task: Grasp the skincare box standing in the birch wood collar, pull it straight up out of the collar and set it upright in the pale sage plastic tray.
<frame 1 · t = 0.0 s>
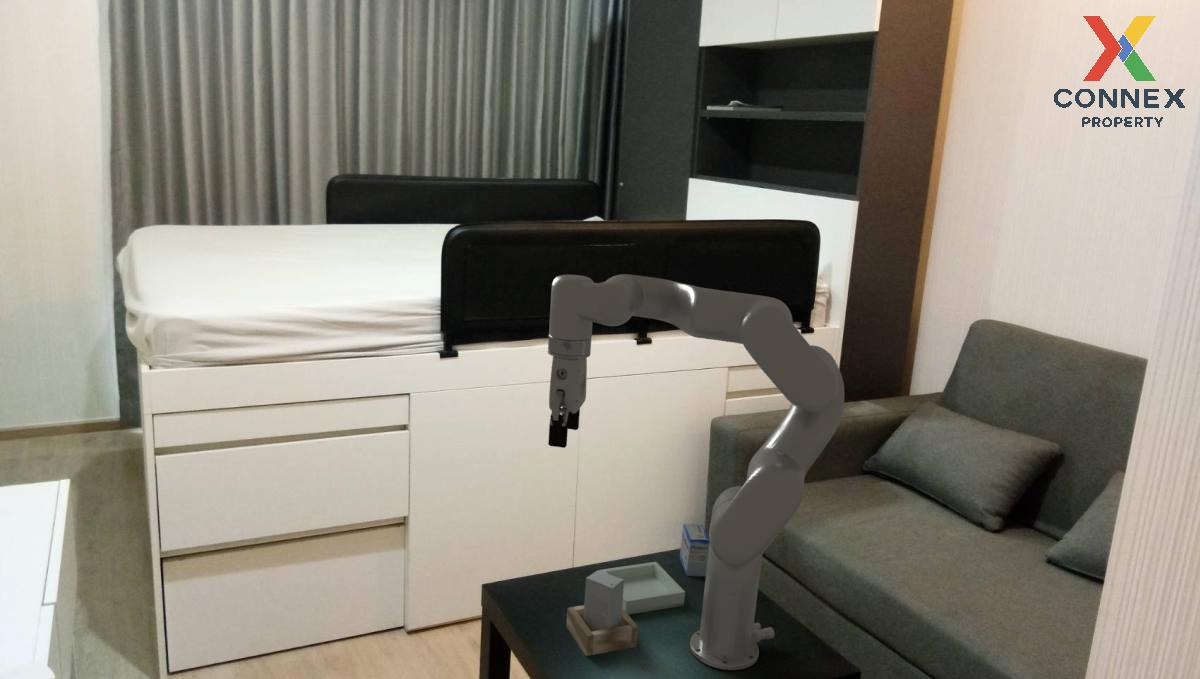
hand: (563, 437, 165), 37 cm above the table, tool pointing down, fingers open, 9 cm apart
skincare box: (600, 637, 170), resting in collar
tray: (640, 594, 186), on the table
collar: (600, 636, 170), on the table
medicine box: (692, 568, 199), on the table
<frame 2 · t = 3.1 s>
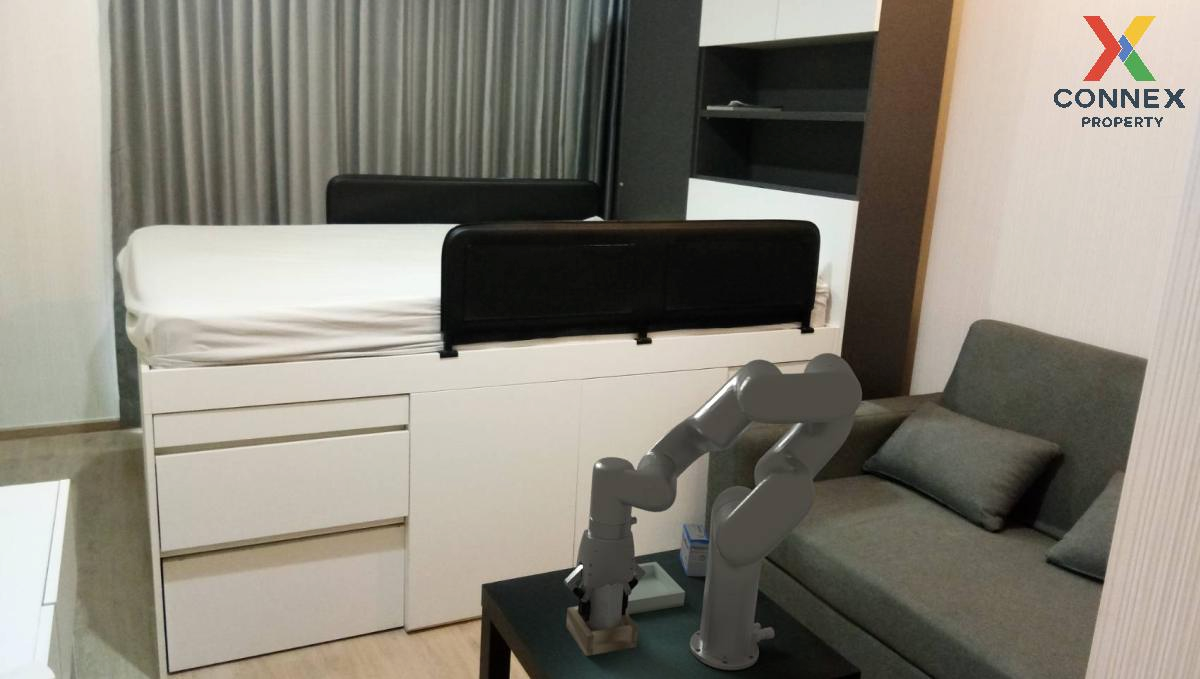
hand: (602, 613, 169), 5 cm above the table, tool pointing down, fingers closed on skincare box, 6 cm apart
skincare box: (600, 637, 170), resting in collar, touching gripper
everything else where it was.
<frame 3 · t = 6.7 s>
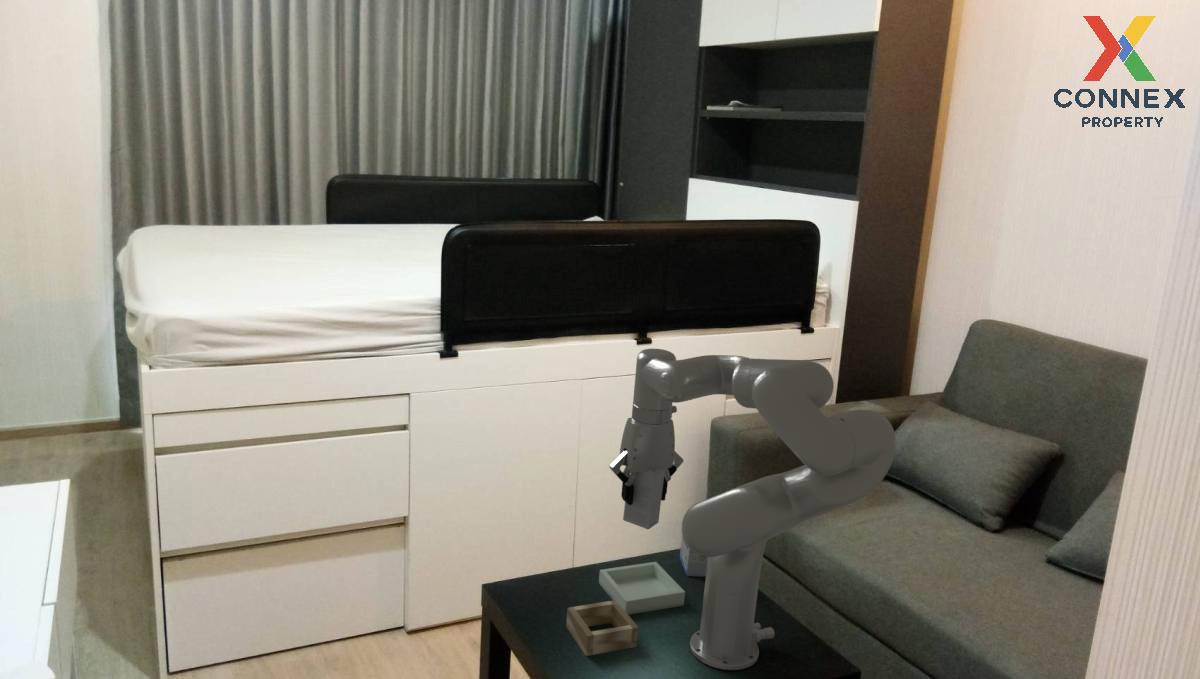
hand: (643, 499, 179), 22 cm above the table, tool pointing down, fingers closed on skincare box, 6 cm apart
skincare box: (640, 522, 180), point 17 cm above the table, touching gripper
everything else where it was.
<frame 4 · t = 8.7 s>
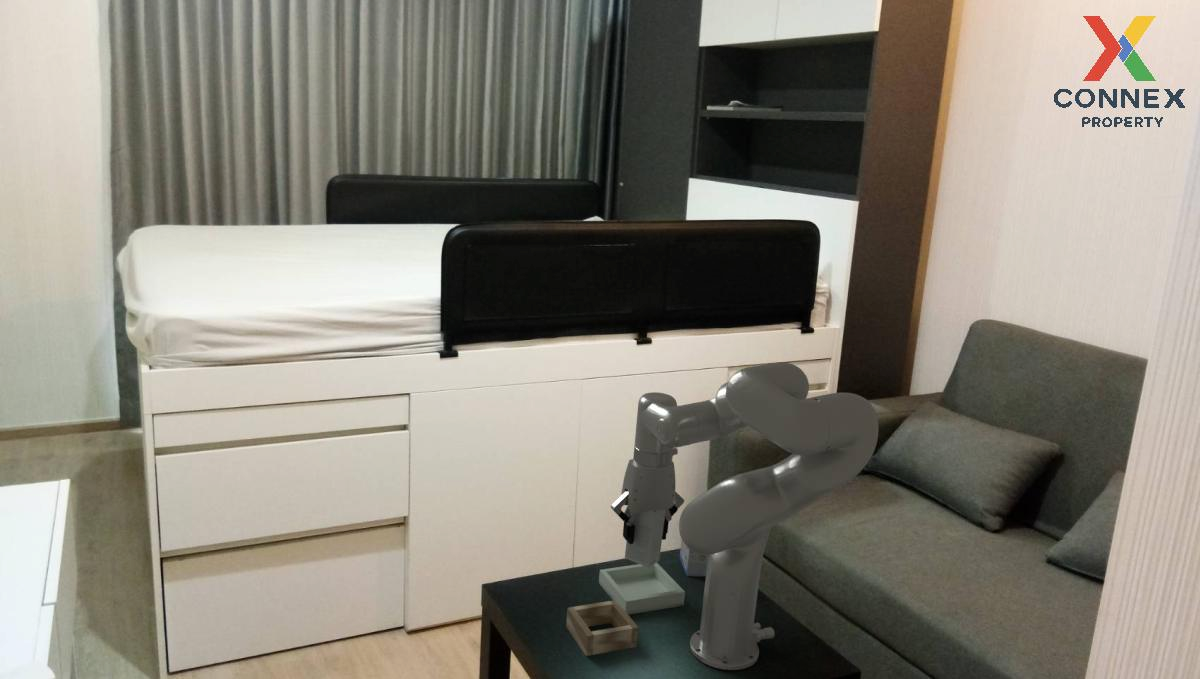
hand: (644, 538, 183), 12 cm above the table, tool pointing down, fingers closed on skincare box, 6 cm apart
skincare box: (641, 560, 185), point 7 cm above the table, touching gripper
everything else where it was.
when the fingers open (7 cm above the table, at t = 10.3 s): skincare box drops 1 cm, resting on tray.
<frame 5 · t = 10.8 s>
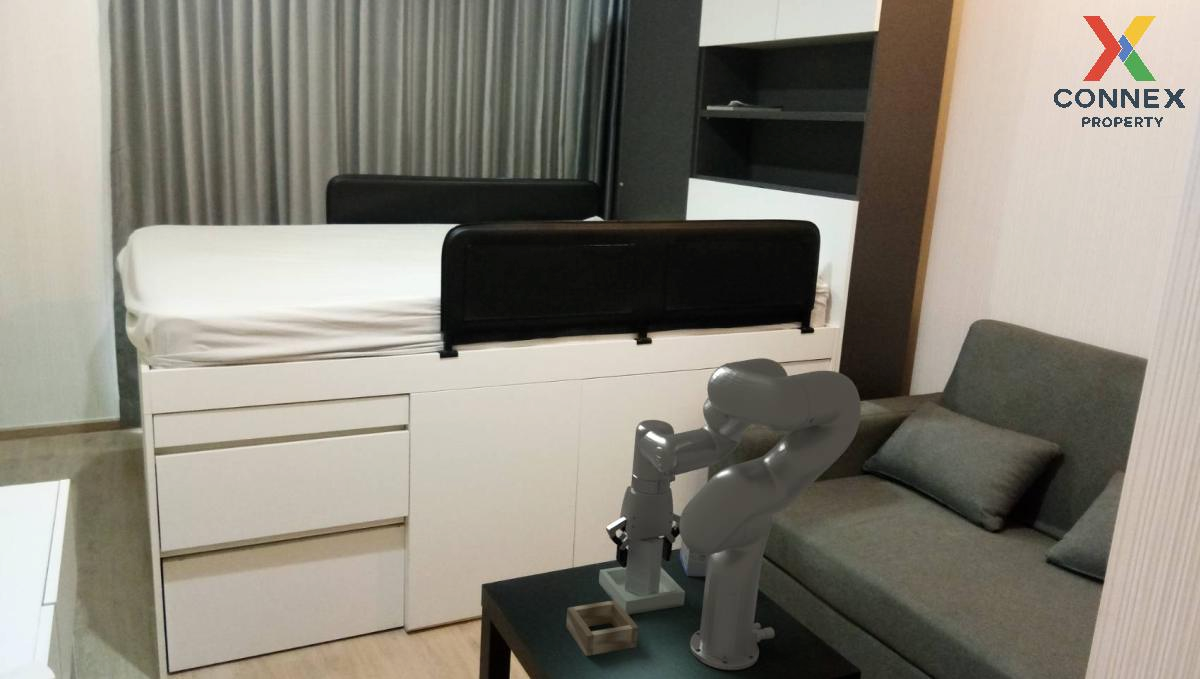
hand: (643, 561, 185), 7 cm above the table, tool pointing down, fingers open, 9 cm apart
skincare box: (641, 591, 186), resting on tray
everything else where it was.
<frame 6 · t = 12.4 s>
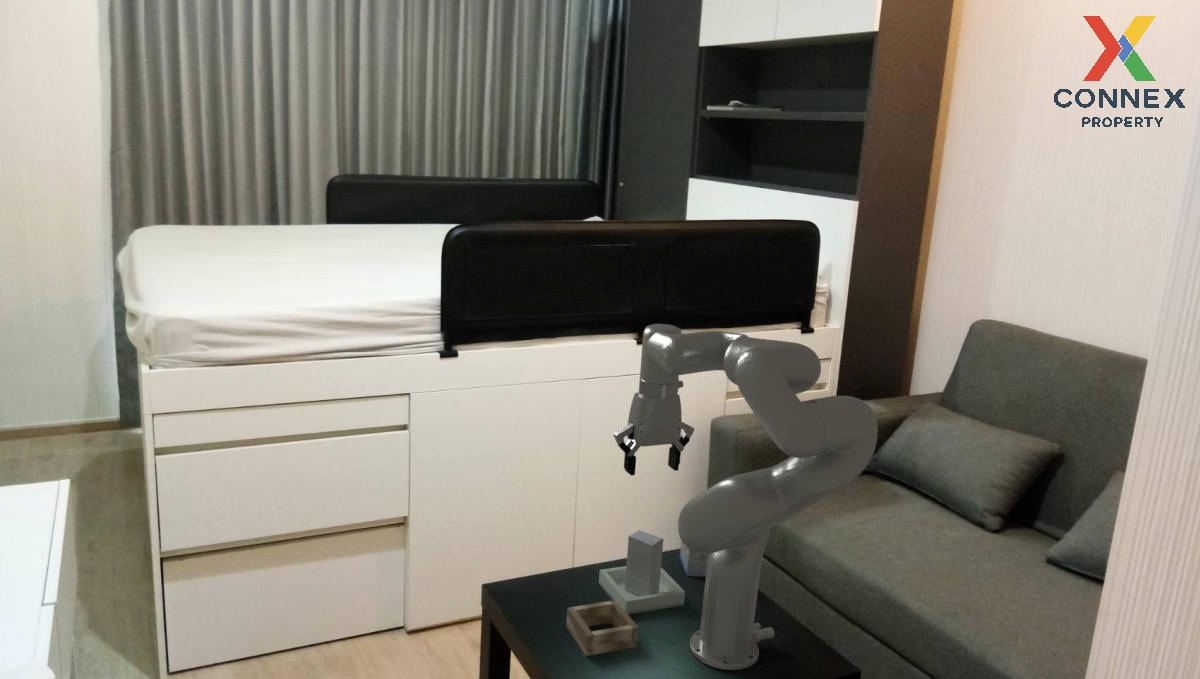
hand: (651, 470, 181), 26 cm above the table, tool pointing down, fingers open, 9 cm apart
nothing on the table moved.
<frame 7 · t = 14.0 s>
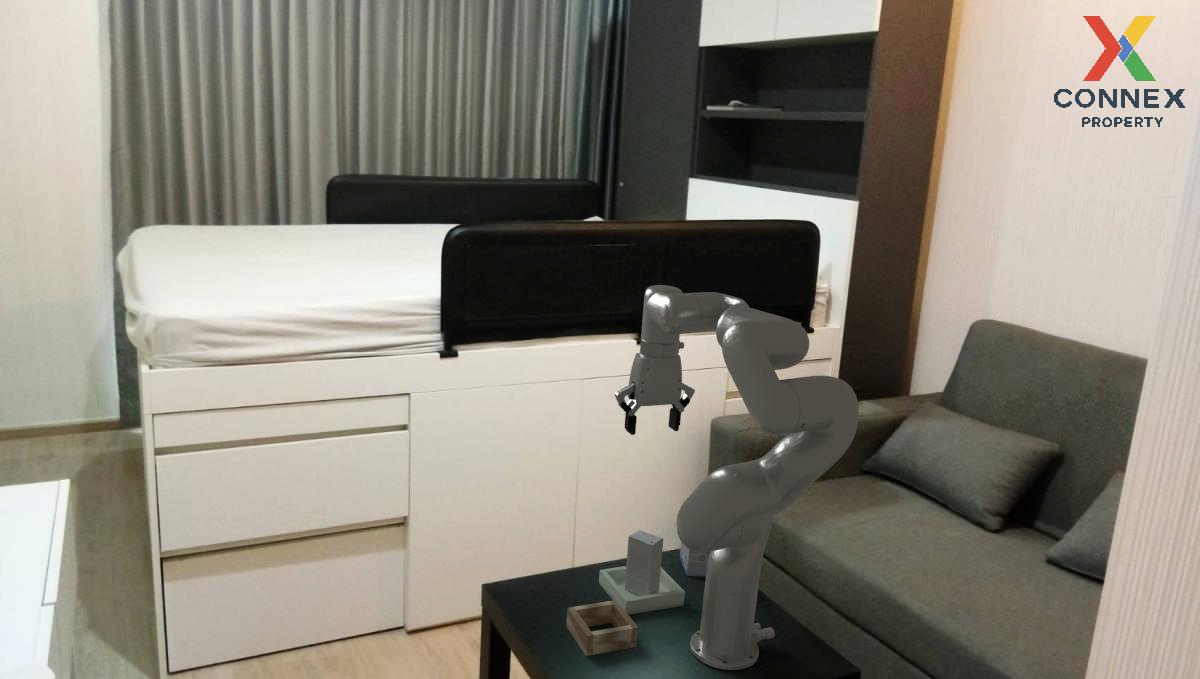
hand: (652, 430, 184), 33 cm above the table, tool pointing down, fingers open, 9 cm apart
nothing on the table moved.
at the end: skincare box inside the target area on the tray (0.2 cm from its centre), point 0.4 cm above the tray's base; skincare box tilted 0°; the gripper is holding nothing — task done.
